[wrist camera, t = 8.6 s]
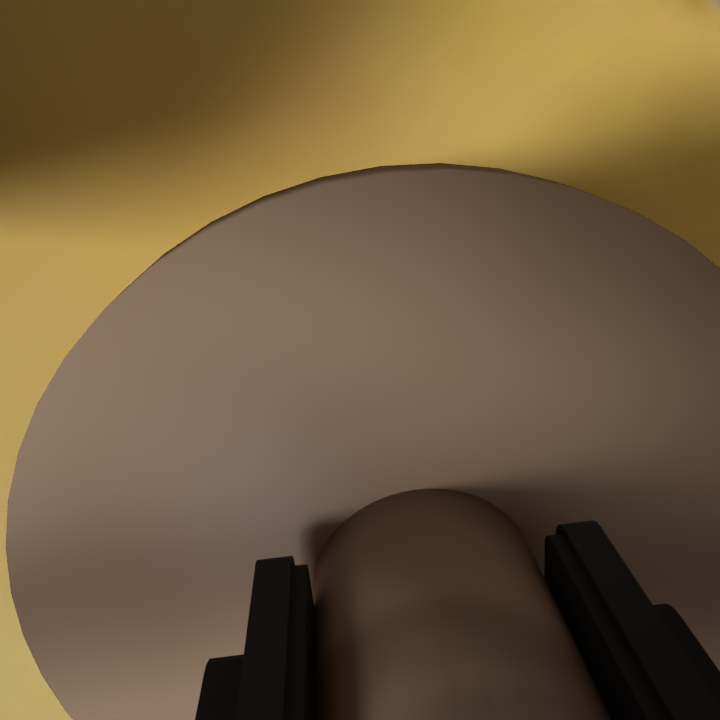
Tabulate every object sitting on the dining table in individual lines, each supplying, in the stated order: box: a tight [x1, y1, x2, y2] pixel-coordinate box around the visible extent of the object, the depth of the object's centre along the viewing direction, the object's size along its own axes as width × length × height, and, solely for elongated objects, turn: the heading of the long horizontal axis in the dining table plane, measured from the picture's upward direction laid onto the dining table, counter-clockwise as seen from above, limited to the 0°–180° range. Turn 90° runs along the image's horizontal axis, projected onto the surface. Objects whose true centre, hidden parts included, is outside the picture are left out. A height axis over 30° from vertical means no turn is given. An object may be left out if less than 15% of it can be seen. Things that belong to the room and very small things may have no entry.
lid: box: [6, 163, 720, 720], centre depth 9 cm, size 13×13×6 cm
